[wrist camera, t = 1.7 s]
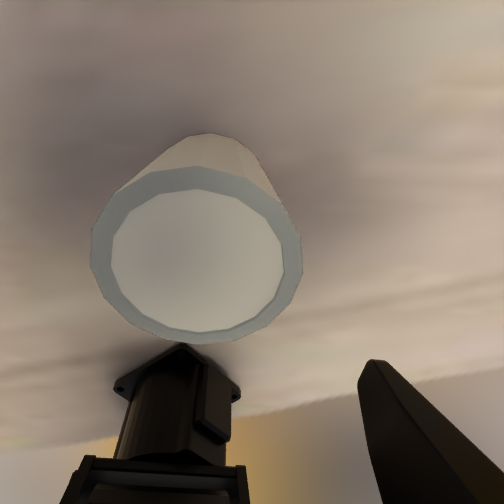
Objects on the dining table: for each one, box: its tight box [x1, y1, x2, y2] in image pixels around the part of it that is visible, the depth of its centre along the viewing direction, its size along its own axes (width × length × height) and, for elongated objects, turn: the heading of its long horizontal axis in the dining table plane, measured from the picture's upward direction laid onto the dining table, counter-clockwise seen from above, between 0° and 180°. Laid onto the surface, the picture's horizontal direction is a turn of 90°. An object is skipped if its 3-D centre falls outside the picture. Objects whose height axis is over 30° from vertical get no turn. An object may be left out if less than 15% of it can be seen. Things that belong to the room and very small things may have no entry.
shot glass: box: [90, 133, 303, 345], centre depth 14 cm, size 7×7×7 cm
